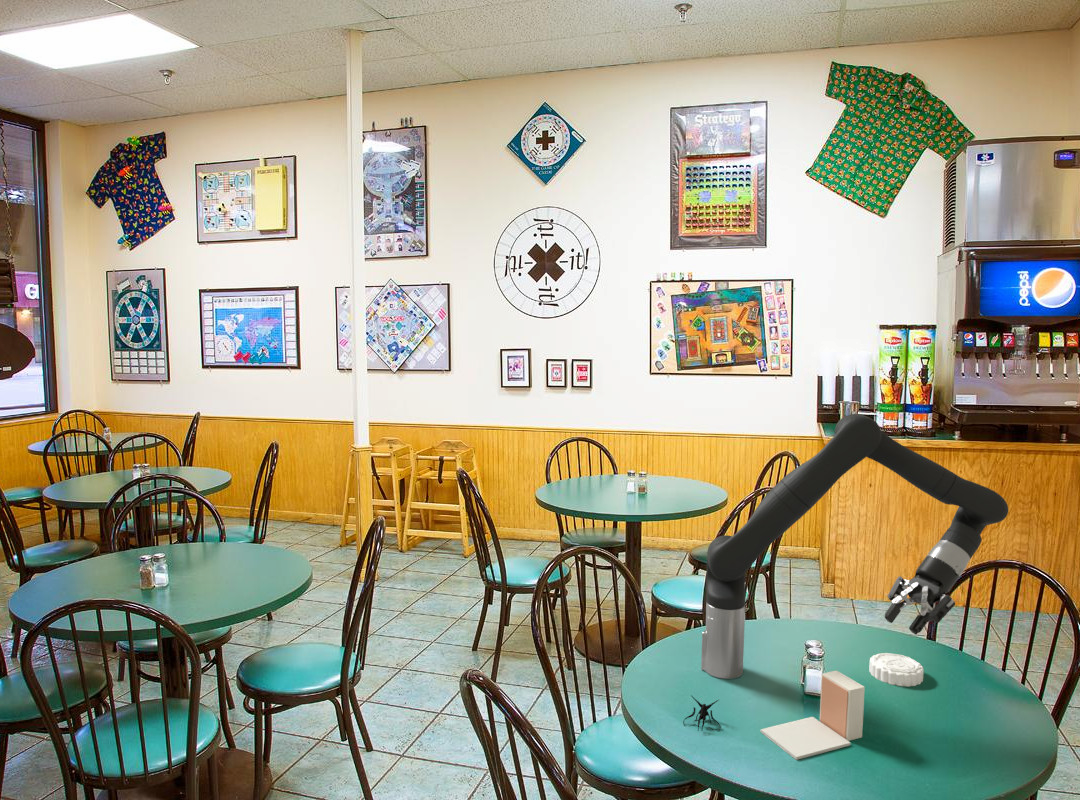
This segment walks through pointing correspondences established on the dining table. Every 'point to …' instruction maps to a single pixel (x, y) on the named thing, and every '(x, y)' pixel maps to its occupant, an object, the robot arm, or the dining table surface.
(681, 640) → the dining table surface
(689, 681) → the dining table surface
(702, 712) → the creature
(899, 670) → the mooncake
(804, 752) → the mat
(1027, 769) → the dining table surface
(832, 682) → the cream rectangular block
